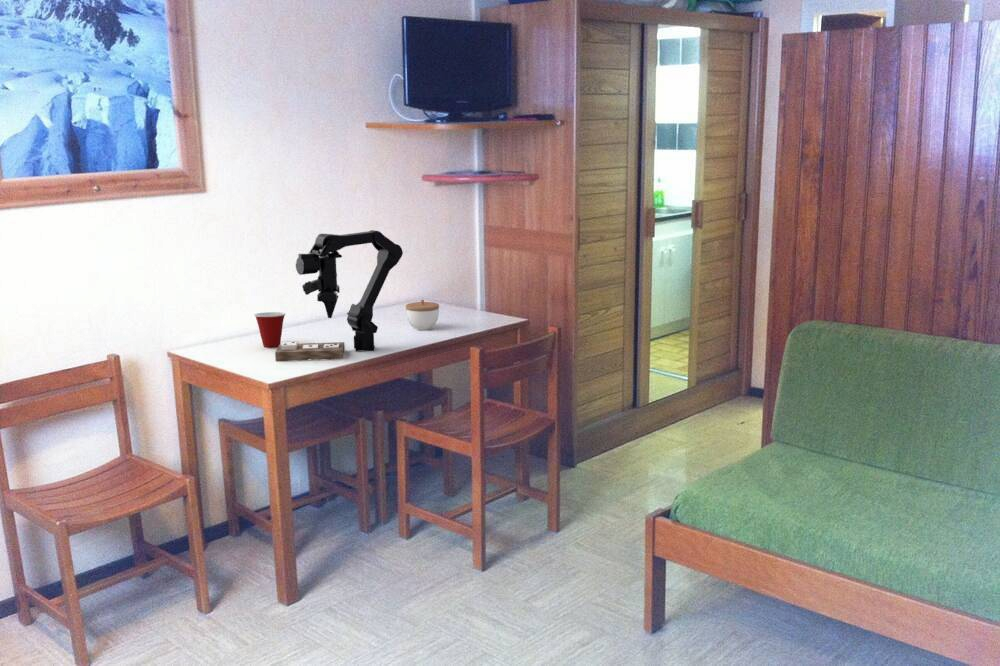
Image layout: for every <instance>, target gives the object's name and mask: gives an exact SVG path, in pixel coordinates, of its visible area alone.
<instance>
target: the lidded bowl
mask: <svg viewBox="0 0 1000 666" xmlns="http://www.w3.org/2000/svg"><path fill="white" fill-rule="evenodd" d="M439 308H440V304H439V303H436V302H431V301H425V299H420V301H416V302H410V303H407V304H406V305H405V309H406V310H405V311H406V320H407V321H408V323H409V325H410V326H411V327H412V328H413V330H415V329H418V330H417V331H429V330H432V329H433V327H434V326H435V325H436V324H437V322H438V319H439V316H440V309H439ZM431 328H432V329H431ZM428 329H429V330H428Z"/></svg>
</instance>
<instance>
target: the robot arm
mask: <svg viewBox="0 0 1000 666" xmlns="http://www.w3.org/2000/svg"><path fill="white" fill-rule="evenodd" d="M366 244H372V246H373V247H374V249H375V250H376V251H378V252H377V255H376V266H375V268H374V269H373V270H374V271H373V273H372V275H371V277H370V279H369V282H368V283H367V285H366V287H365V290H364V291H363V294H362V296H361V299H360V300H359V302H358V303H357V304H354V303H351V305H350V308H349V310H348V312H346V315H347V316H346V321H347V323H348V325H349V326H350V328H351V329H352V331H353V332H354V335H353V348H354V349H355V351H354V352H368V351H370V352H373V351H375V350H376V349H375V348H376V347H375V335H374V334H376V333H377V331H378V329H379V328H378V326H377V325H376V324H375V323H374V322H373V321H372V320H373V318H374V306H375V303H376V301H377V299H378V296H379V295H380V294H381V293H380V292H381V291H382V289H383V287H384V284H385V281H386V280H387V277H388V275H389V273H390V271H391V270H392V269H393V268H394V267H396V266H397V265H398V263H399V262H400V260H401V259H402V257H403V255H404V254H403V253H404V251H403V248H402V247H401V245H400V244H396V243H395V242H393V241H392V240H391V239H390V238H388V237H387V236H385V235H384V234H383V233H382V232H381V231H379V230H374V229H372V230H369V231H361V232H354V233H345V234H335V233H333V234H332V233H320V234H318V235H317V236H316V238H315V241H314V244H313V245H312V247H311V249H310V250H309V252H308V253H298V255H297V256H298V257H297V259H296V263H295V269H296V272H297V275H300V276H301V275H310V274H311V275H312V274H317V273H319V274H318V276H317V278H316V279H313V280H311V281H310V280H308V281H307V282H305V283H304V284H302V285H301V287H302V291H303V292H304V294H305V296H308V295H310V294H311V293H314V292H316V291H318V294H317V300H316V301H317V302H322V303H323V305H324V307H325V311H326V315H327V318H328V319H331V318H332V317H333V314H334V311H335V308H336V305H337V302H338V298H339V295H338V294H340V292H341V291H340V288H341V287H340V285H339V284H338V273H337V259H340V258H342V257H343V256H342V254H340V253H339V252H338V251H340V250H342V249H344V248H346V247H350V246H351V247H352V246H357V245H366Z"/></svg>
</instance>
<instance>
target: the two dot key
mask: <svg viewBox="0 0 1000 666" xmlns="http://www.w3.org/2000/svg"><path fill="white" fill-rule="evenodd" d="M280 344H281V350H297V347H298V344H299V342H298V341H282V342H281V343H280Z"/></svg>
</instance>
